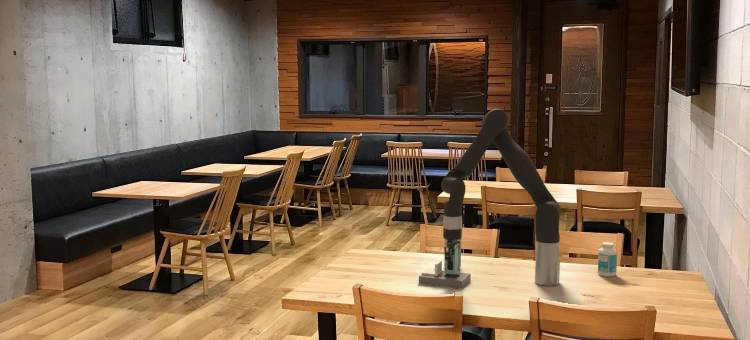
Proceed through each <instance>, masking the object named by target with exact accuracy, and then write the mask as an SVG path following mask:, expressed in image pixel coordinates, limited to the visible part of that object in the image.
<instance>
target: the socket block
mask: <svg viewBox="0 0 750 340" xmlns="http://www.w3.org/2000/svg"><path fill="white" fill-rule="evenodd" d="M470 282H471V273H468V272H459V271H458V272H457V273H456V274H448V273H445V270H442V273H440V274H439V275H438V276H429V275H422V273H421V274H419V276H418V284H419V285H428V286H437V287H446V288H451V289H452V288H453V289H460V290H461V289H463V288H465V287H466V285H467V284H468V283H470Z"/></svg>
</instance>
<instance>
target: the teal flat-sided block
mask: <svg viewBox="0 0 750 340" xmlns="http://www.w3.org/2000/svg"><path fill="white" fill-rule="evenodd" d="M451 253H453V252H451ZM449 257H450V256H449ZM444 271H445V273H448V274H456V273H457V272H459V269H458V248H456V249H455V255H454V256H453V270H448V269H447V260H445V267H444Z"/></svg>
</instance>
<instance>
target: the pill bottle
mask: <svg viewBox="0 0 750 340" xmlns="http://www.w3.org/2000/svg"><path fill="white" fill-rule="evenodd" d="M601 246H602V247H601V248H599V249H598V253H597V256H598V257H597V273H598V275H599V276H601V277H605V278H606V277H607V278H608V277H610V278H611V277H615V276H616V275H617V262H618V261H617V259H618V251H617V250H616V248H614V247H615V245H614V243H613V242H607V241H606V242H605V241H604V242H601Z"/></svg>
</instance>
